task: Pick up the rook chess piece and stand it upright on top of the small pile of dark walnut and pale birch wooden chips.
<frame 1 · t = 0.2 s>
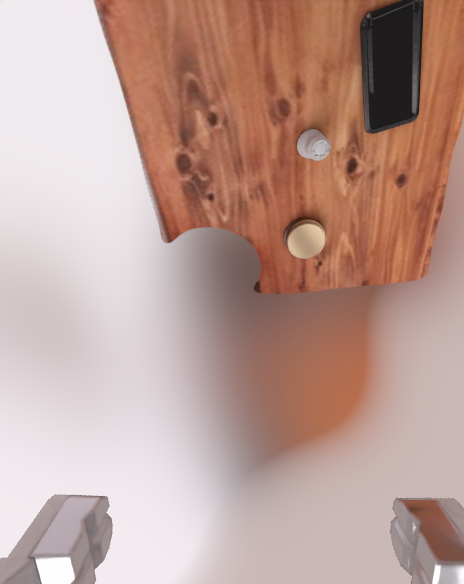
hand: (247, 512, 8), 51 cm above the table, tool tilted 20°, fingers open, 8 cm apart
rook chess piece: (309, 143, 49), on the table
phone: (388, 72, 43), on the table
chip pile: (303, 234, 57), on the table
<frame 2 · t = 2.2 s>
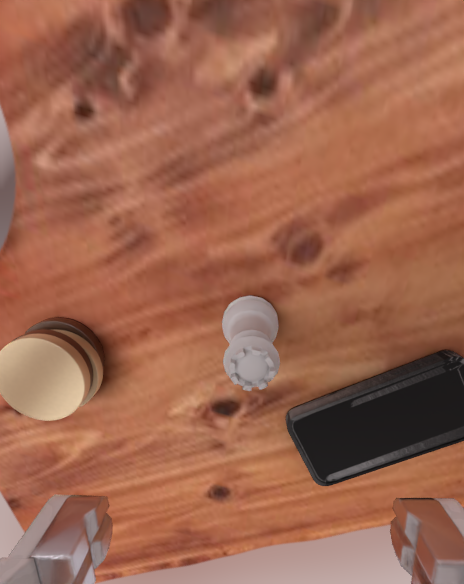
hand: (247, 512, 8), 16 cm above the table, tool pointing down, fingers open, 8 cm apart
rook chess piece: (250, 319, 24), on the table
phone: (378, 415, 25), on the table
chip pile: (67, 358, 25), on the table
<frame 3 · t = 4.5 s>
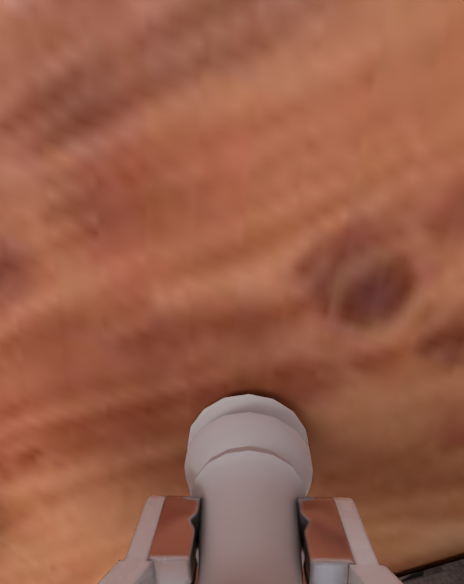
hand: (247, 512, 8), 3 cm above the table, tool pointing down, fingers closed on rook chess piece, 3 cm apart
rook chess piece: (247, 434, 11), on the table, touching gripper
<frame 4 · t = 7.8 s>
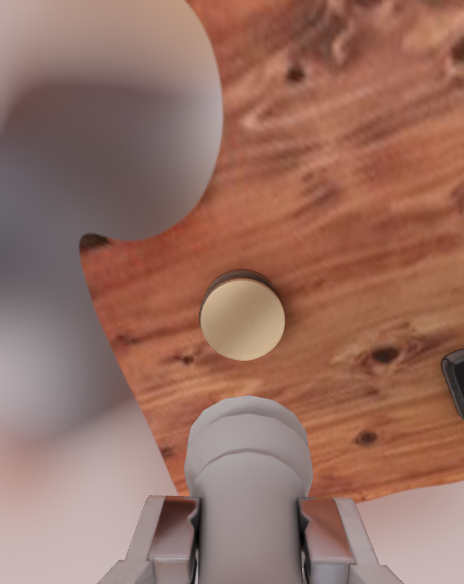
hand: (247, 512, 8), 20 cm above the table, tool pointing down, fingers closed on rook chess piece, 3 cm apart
rook chess piece: (247, 435, 11), point 17 cm above the table, touching gripper
chip pile: (242, 309, 27), on the table
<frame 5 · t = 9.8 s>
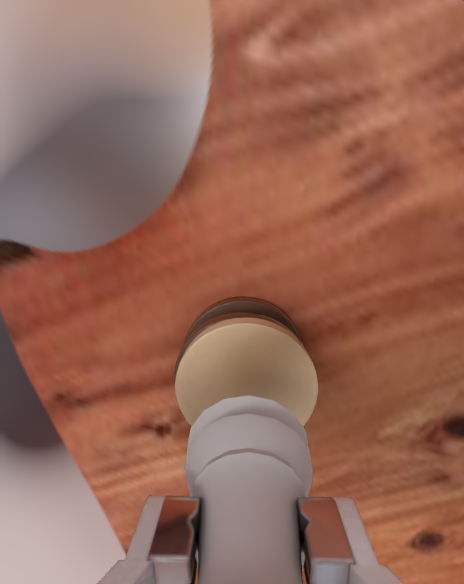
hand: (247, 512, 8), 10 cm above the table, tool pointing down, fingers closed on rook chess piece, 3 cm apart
rook chess piece: (247, 435, 11), point 7 cm above the table, touching gripper
chip pile: (245, 357, 18), on the table
when the fingers open (6 cm above the table, at t = 11.2 s): rook chess piece stays where it is, resting on chip pile.
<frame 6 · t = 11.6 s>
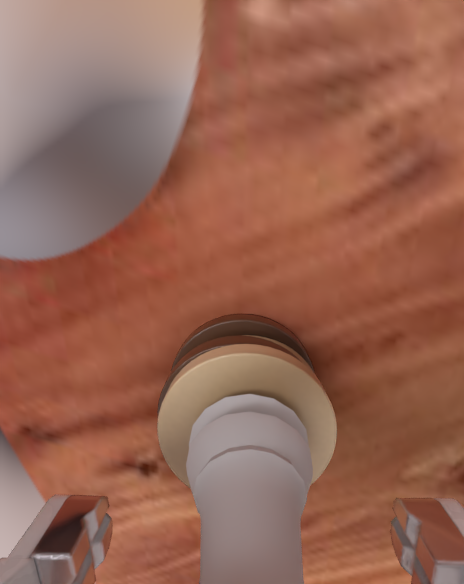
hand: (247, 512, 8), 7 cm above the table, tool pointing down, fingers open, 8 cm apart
rook chess piece: (248, 433, 11), point 3 cm above the table, touching chip pile
chip pile: (245, 385, 15), on the table
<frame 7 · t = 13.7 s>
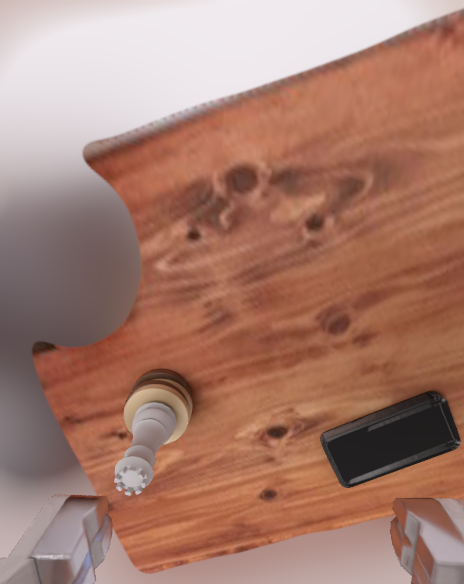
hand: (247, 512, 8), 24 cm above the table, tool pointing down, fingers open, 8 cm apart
rook chess piece: (157, 416, 31), point 3 cm above the table, touching chip pile
phone: (385, 436, 35), on the table
chip pile: (163, 397, 34), on the table
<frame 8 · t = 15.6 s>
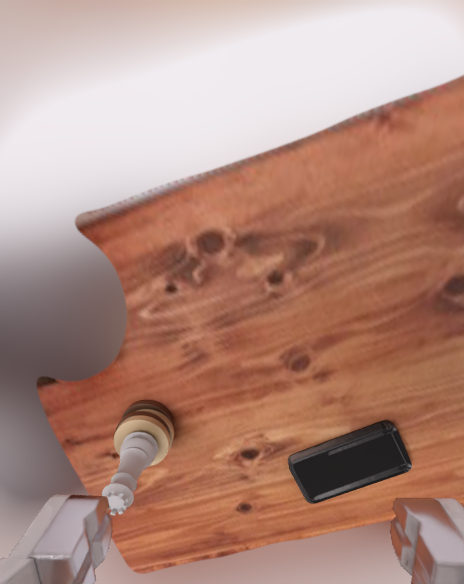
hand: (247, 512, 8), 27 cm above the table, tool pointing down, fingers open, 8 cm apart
rook chess piece: (142, 443, 36), point 3 cm above the table, touching chip pile
phone: (346, 458, 40), on the table
chip pile: (150, 424, 40), on the table
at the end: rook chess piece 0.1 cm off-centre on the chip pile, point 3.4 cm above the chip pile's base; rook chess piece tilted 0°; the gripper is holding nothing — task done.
